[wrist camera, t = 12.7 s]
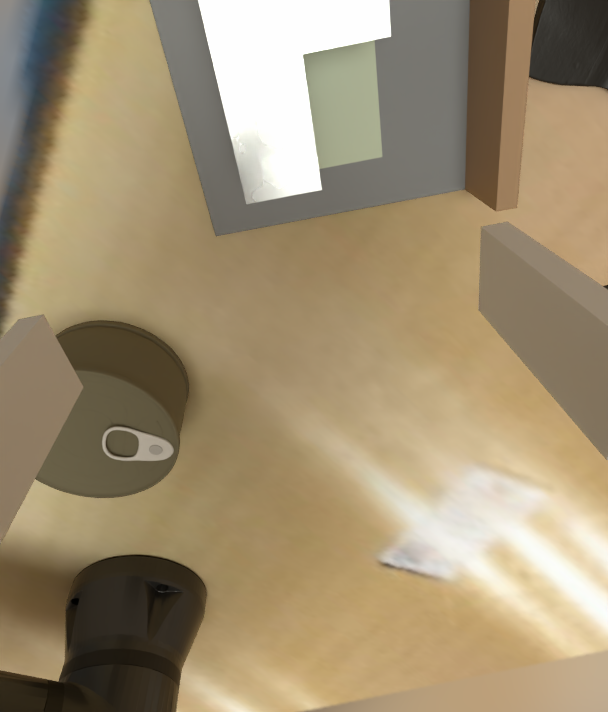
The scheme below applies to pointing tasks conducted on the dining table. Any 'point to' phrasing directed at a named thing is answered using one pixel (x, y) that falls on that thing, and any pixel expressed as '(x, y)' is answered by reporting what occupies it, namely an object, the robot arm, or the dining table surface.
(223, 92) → the bracket
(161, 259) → the dining table surface
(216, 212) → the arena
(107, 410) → the can
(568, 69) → the dark sector wedge
